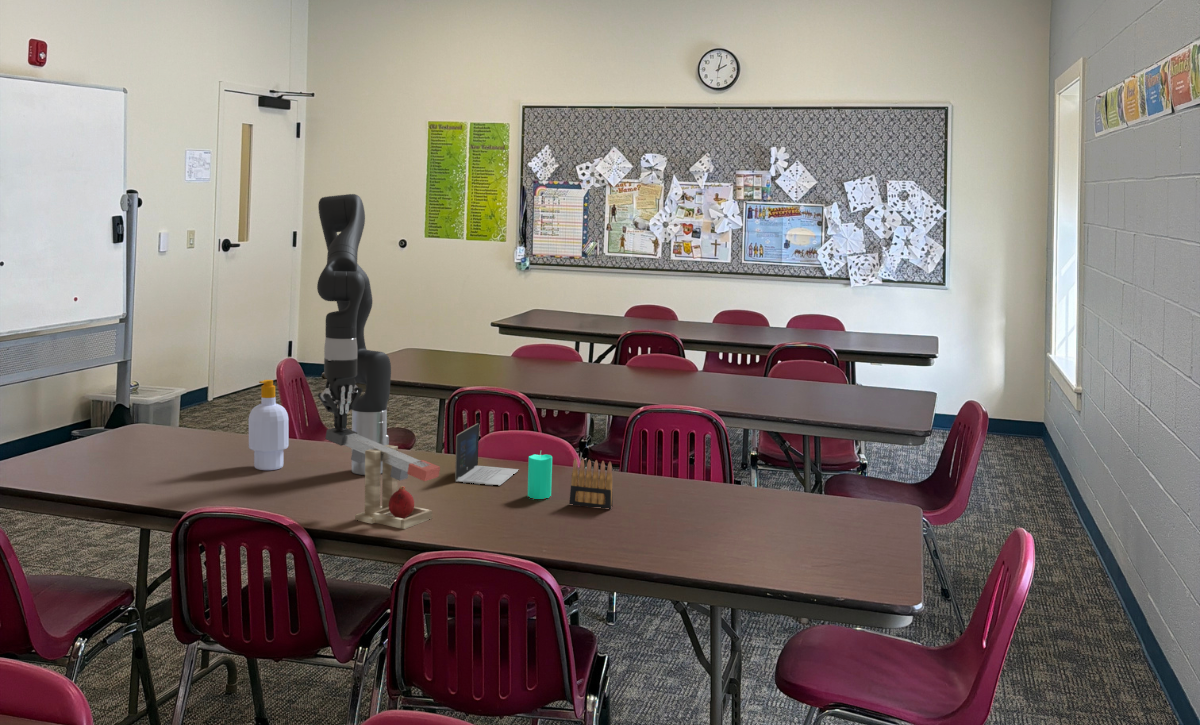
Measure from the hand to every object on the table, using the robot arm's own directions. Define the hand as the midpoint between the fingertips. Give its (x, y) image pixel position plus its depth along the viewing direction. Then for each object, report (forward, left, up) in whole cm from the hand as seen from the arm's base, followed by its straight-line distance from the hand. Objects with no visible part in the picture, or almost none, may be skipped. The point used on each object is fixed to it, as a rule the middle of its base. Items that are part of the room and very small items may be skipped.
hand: (340, 429), depth 237 cm
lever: (0, +12, -8) cm, 14 cm away
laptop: (-45, +12, -19) cm, 50 cm away
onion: (0, +19, -19) cm, 27 cm away
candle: (-36, +34, -19) cm, 53 cm away
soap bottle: (-17, -41, -19) cm, 49 cm away
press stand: (0, +17, -19) cm, 25 cm away
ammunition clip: (-36, +49, -19) cm, 63 cm away
